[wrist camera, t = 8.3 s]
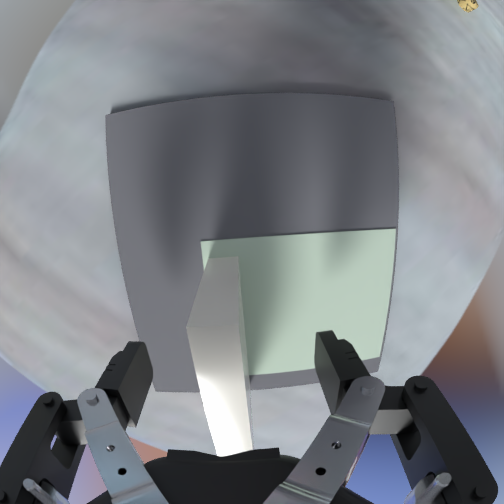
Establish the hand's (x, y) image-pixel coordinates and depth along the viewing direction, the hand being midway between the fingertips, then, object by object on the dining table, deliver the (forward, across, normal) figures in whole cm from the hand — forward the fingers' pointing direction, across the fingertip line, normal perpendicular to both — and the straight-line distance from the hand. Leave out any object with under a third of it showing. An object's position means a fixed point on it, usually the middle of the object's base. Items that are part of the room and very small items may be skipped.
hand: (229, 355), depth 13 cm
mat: (+4, -2, -3) cm, 6 cm away
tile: (0, 0, -4) cm, 4 cm away
